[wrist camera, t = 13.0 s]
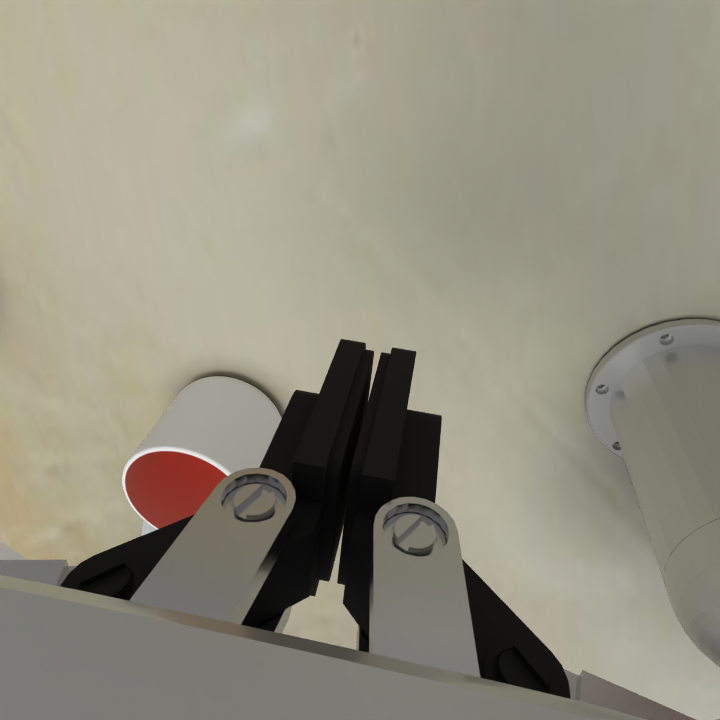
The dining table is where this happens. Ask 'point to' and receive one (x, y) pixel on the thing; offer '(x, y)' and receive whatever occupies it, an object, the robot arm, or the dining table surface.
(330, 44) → the dining table surface
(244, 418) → the cup
